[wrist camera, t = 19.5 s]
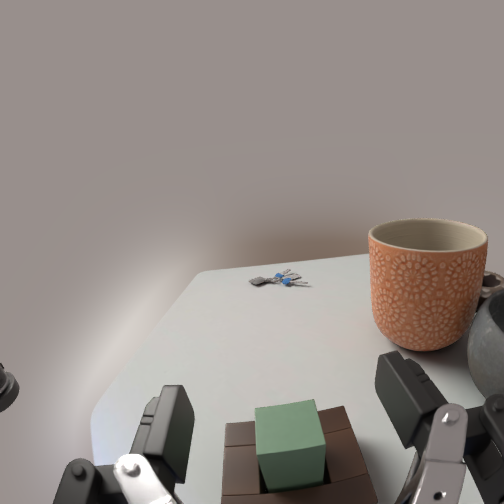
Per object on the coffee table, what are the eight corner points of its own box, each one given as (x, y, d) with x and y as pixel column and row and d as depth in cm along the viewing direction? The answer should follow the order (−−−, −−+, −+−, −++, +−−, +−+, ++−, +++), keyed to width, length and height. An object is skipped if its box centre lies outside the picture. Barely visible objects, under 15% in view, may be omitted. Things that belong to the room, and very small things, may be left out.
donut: (510, 293, 34) (514, 274, 33) (502, 321, 29) (507, 299, 28) (464, 281, 44) (466, 263, 43) (446, 305, 38) (449, 284, 37)
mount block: (367, 517, 12) (378, 501, 11) (233, 537, 12) (219, 525, 11) (340, 431, 22) (343, 404, 21) (235, 447, 22) (225, 423, 21)
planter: (414, 295, 44) (417, 214, 40) (487, 328, 29) (503, 230, 25) (345, 329, 40) (342, 232, 36) (425, 387, 24) (450, 263, 20)
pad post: (320, 498, 15) (326, 444, 12) (273, 505, 15) (256, 454, 12) (314, 464, 19) (313, 398, 16) (270, 471, 19) (254, 407, 16)
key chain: (246, 286, 63) (245, 282, 62) (257, 272, 70) (257, 269, 70) (307, 285, 57) (307, 282, 57) (313, 271, 65) (312, 267, 65)
